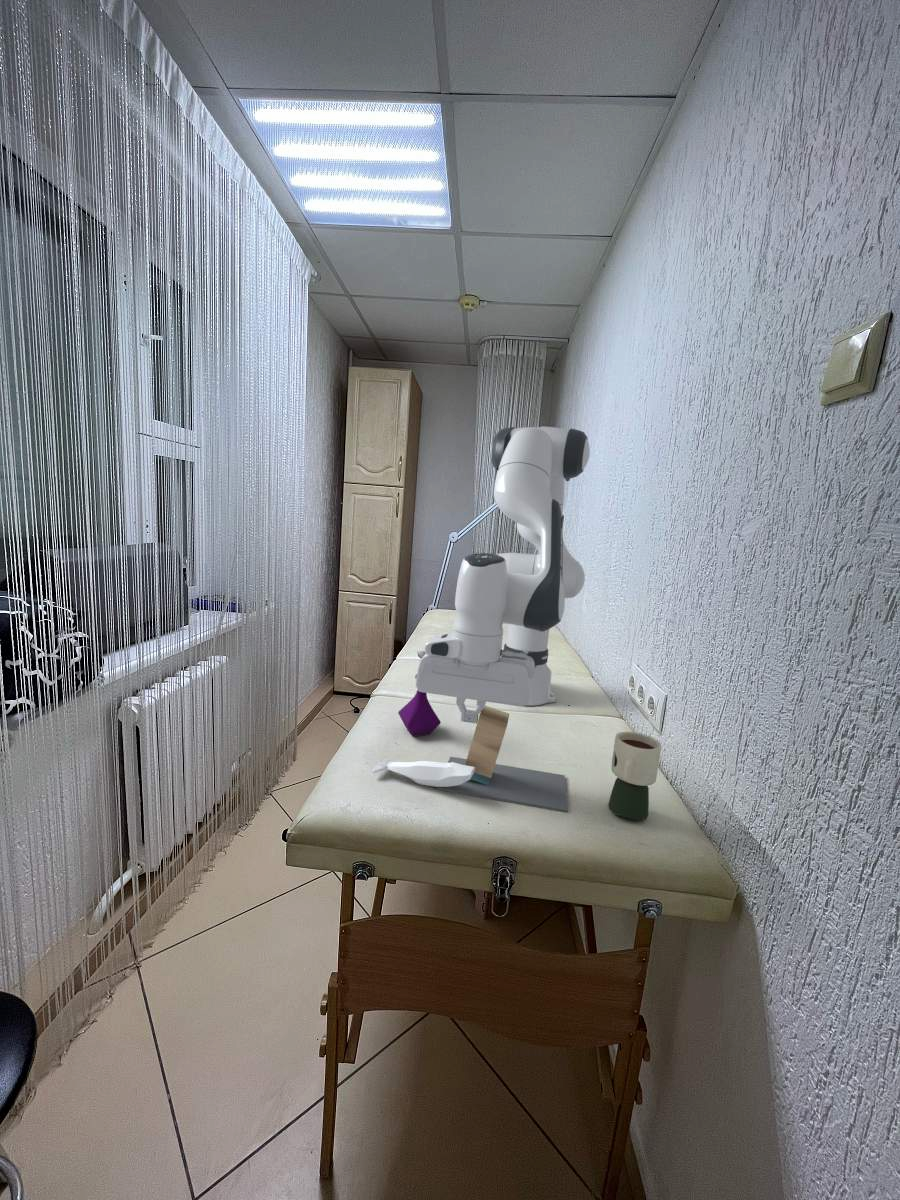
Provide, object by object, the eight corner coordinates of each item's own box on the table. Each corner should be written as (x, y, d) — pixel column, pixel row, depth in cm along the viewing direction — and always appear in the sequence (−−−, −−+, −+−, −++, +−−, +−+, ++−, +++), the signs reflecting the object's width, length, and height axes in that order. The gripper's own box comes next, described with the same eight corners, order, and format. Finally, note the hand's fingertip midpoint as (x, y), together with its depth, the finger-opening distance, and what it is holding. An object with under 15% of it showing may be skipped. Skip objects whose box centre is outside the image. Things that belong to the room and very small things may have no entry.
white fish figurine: (469, 797, 82) (468, 775, 82) (371, 782, 88) (370, 761, 87) (478, 782, 87) (477, 760, 87) (385, 768, 93) (384, 748, 93)
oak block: (466, 763, 93) (483, 705, 91) (491, 772, 93) (509, 713, 91) (461, 776, 89) (479, 714, 86) (488, 785, 88) (507, 724, 86)
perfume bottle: (440, 737, 107) (446, 656, 104) (406, 740, 104) (412, 657, 101) (428, 723, 114) (434, 646, 111) (396, 725, 111) (402, 647, 108)
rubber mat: (450, 758, 98) (450, 756, 98) (564, 777, 94) (564, 775, 94) (437, 789, 86) (437, 787, 86) (567, 812, 82) (567, 810, 82)
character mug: (614, 792, 90) (624, 724, 88) (656, 807, 86) (667, 736, 84) (596, 819, 81) (606, 744, 79) (642, 837, 77) (654, 758, 75)
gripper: (536, 649, 89) (528, 723, 91) (424, 636, 92) (419, 707, 94) (535, 658, 83) (526, 737, 85) (416, 643, 86) (410, 719, 88)
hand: (469, 721), depth 90 cm, fingers closed
